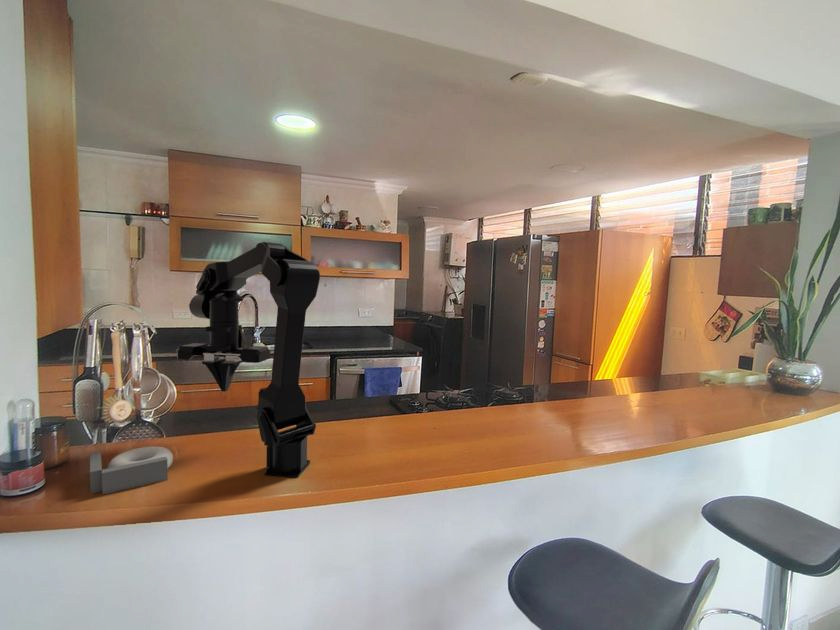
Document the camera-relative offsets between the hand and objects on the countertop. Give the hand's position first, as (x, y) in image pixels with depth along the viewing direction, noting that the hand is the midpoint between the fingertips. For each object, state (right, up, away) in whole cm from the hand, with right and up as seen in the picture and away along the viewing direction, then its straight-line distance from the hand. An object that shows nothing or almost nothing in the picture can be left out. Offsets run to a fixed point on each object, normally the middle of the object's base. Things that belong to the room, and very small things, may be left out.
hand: (224, 391), depth 90 cm
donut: (-5, -10, -12) cm, 16 cm away
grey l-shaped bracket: (-9, -12, -21) cm, 26 cm away
